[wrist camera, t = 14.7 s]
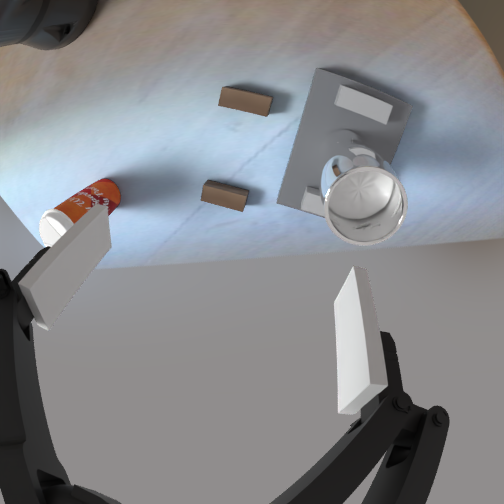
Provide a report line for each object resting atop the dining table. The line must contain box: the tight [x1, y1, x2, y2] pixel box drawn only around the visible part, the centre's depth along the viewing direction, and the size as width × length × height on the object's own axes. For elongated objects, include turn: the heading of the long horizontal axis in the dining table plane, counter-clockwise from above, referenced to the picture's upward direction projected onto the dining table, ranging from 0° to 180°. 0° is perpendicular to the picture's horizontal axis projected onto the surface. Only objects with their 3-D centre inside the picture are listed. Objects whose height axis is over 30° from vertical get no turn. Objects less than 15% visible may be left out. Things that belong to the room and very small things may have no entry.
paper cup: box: [39, 179, 121, 247], centre depth 38 cm, size 8×8×14 cm
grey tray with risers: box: [277, 68, 413, 218], centre depth 33 cm, size 18×12×4 cm, turn 167°
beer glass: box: [319, 130, 408, 246], centre depth 26 cm, size 7×7×15 cm
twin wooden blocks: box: [201, 86, 273, 212], centre depth 36 cm, size 16×6×2 cm, turn 167°
